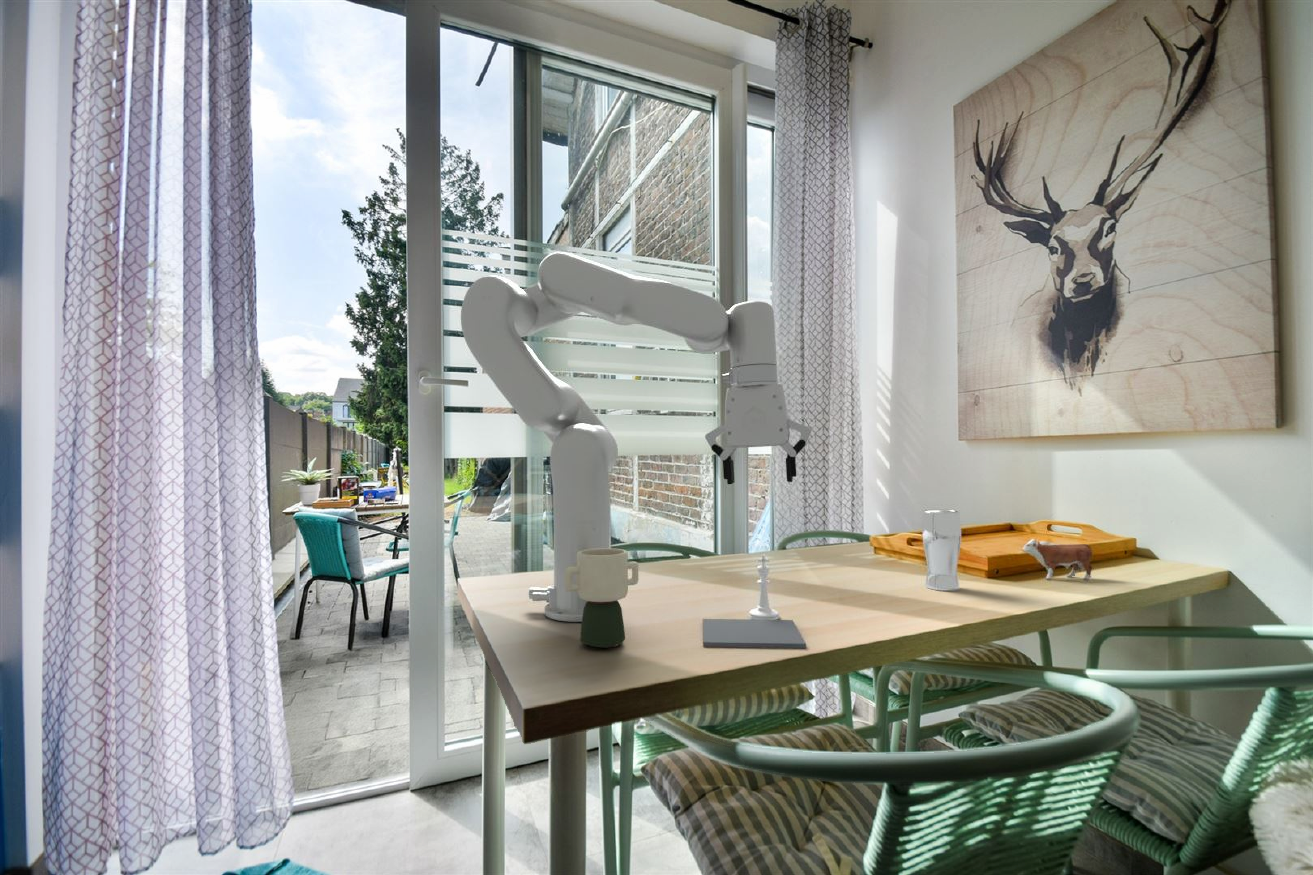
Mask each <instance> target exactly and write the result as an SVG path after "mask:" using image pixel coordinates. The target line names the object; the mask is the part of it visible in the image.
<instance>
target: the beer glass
mask: <svg viewBox="0 0 1313 875" xmlns="http://www.w3.org/2000/svg"><path fill="white" fill-rule="evenodd" d="M921 524H922V526H921V527H922V528H921V534H922V542H923V544H922V545H923V550H924V554H925V555H924V556H925V560H926V567H927V571H926V572H927V573H926V578H925V588H927V589H929V590H933V591H939V592H940V591H942V592H957V591H959V590H960V589H961V588H960V583H959V578H958V564H959V556H960V550H961V544H962V522H961V515H960V511H959V510H954V509H953V510H952V509H923V510H922V523H921Z"/></svg>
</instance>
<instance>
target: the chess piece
mask: <svg viewBox="0 0 1313 875" xmlns="http://www.w3.org/2000/svg"><path fill="white" fill-rule="evenodd" d="M757 562H758V563H761V565H758V566H757V568H756V569H757V572H758V575H759V577H760V579H758V580H757V581H756V583H757V584H758V585H760V589H759V590H760V593H759V598H758V605H756V608H754V609H751V610H749V612H748V617H749V618H750V619H757V620H780V613H779V611H777V610H775V609H773V608H772V606H771V605H770V603H769V601H770V600H769V595H768V593H769V592H768V586H767V585H769V584H771V581H770V580H768V575H769V572H770V569H771V568H770V566H768V565H766V563H769V562H770V560H769V558H766V555H765V554H762V555H761V558H758V559H757Z"/></svg>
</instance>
